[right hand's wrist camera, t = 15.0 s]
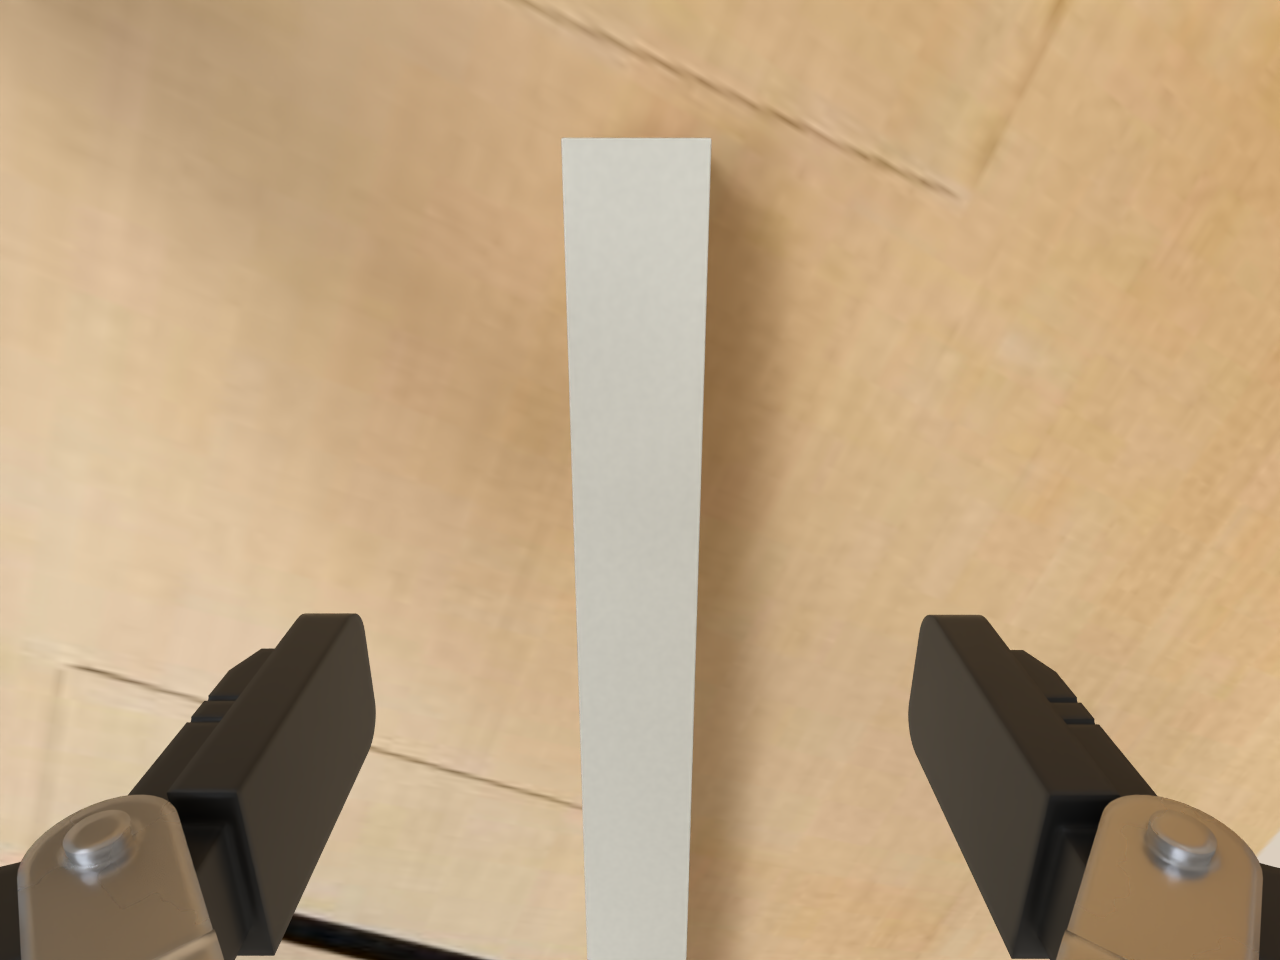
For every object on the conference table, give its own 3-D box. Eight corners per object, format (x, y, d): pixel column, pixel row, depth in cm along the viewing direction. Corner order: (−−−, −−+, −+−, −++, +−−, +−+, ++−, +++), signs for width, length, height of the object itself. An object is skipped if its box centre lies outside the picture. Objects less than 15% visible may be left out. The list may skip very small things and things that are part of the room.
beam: (576, 142, 32) (561, 137, 26) (697, 142, 32) (711, 137, 26) (602, 1168, 56) (597, 1293, 50) (672, 1168, 56) (676, 1293, 50)
